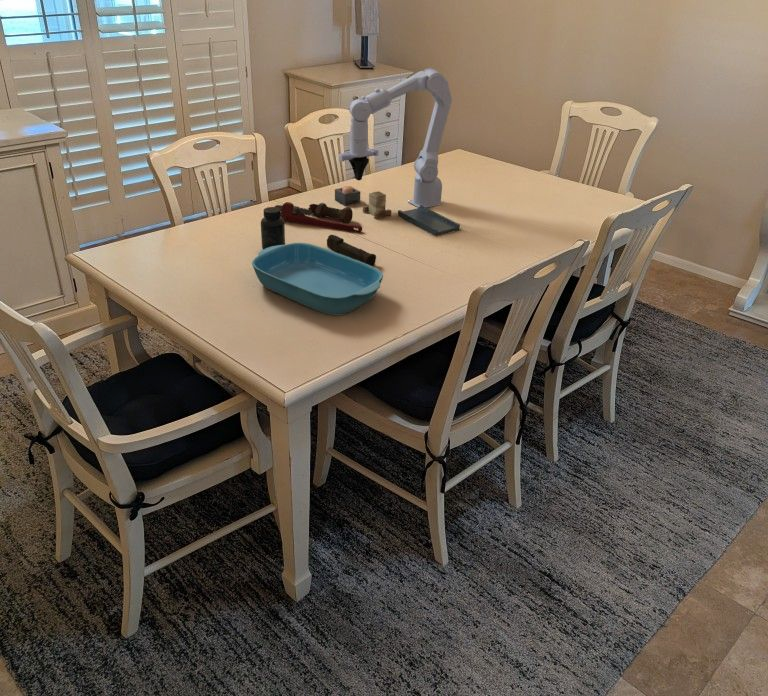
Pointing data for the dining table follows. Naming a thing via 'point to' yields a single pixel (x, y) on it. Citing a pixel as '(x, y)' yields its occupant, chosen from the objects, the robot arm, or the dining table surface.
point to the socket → (378, 213)
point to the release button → (347, 189)
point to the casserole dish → (317, 277)
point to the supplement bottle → (272, 228)
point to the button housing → (347, 197)
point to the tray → (429, 221)
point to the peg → (376, 202)
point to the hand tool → (350, 250)
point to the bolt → (332, 212)
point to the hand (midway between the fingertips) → (358, 179)
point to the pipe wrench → (312, 218)
